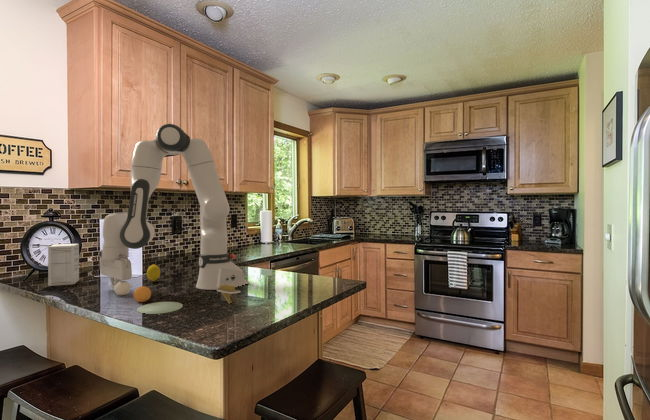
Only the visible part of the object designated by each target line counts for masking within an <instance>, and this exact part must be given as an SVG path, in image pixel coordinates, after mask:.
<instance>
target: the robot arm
mask: <svg viewBox="0 0 650 420" xmlns="http://www.w3.org/2000/svg"><path fill="white" fill-rule="evenodd" d="M134 146H135V147H134V150H133V152H132V157H131V163H130V178H129V179H130V196H129V204H128V211H127V212H124V211H122V212H115V213H109V214H107V215H106V216H105V217H104V220H103V225H102V237H103V243H102V249H101V250H99V251H98V252H97V253H98V257H99V271H100V274H101V276H102V275H103V276H106V277H109V281H110V284H111V289H114V287H115V285H116V284H117V283H118V282H120V281H127V280H131V279H132V276H133V273H132V272H133V270H132V269H133V268H132V262H131V260H130V259H129V249H133V250H137V249H141V248H143V247H145V246H146V245H147V244H148V243H150V242H151V241H152V240H153V238H154V237H155V236H156V229H155V227H154V226H153V224H151V223H150V222H148V221H147V216H148V209H149V208H148V207H149V201H150V198H151V195H152V194H153V192H154V191H155V190H156V189H157V188H158V187H159V184H160V181H161V176H162V166H163V160H164V158H168V157H175V156H178V155H180V156H182V157H183V159H184V161H185V164H186V168H187V171H188V173H189V177H190V180H191V183H192V187H193V190H194V192H195V195H196V198H197V200H198V203H199V207H200V208H199V217H200V218H199V219H200V220H199V222H200V224H199V227H200V230H199V231H200V253H199V255H198V256H199V257H198V268H199V271H198V277H197V282H196V285H195V288H196V289H199V290H209V291H210V290H216V291H217V289H218V288H220V285H223V284H225V285H231V286H235V288H239V287H243V286H242V285H244V286H246V285H245V284H248V285H250V281H249V280H248V279H245V275H244V270H243V269H242V268H241V267H239V266H238V265H236V264H235V263H234V262H232V260H235V258H236V255H235V254H234V253H228V228H227V226H228V225H227V224H228V223H227V217H228V216H229V214H230V204H229V201H228V199H227V196H226V192H225V190H224V187H223V185H222V183H221V180H220V176H219V174H218V171H217V168H216V165H215V164H216V163H215V161H214V158H213V155H212V153H211V150H210V148H209V146H208V145H207V142H206V141H205V140H204V139H201V138H197V137H196V138H191V137H190V136H189V135H188V134H187V133H186V132H185V131H184V130H183V129H182V128H181V127H180V126H178V125H177V124H173V123H165V124H163V125H160V127H158V129H157V131H156V132H155V139H153V140H147V139H146V140H140V141H138V142H137V143H136V144H135V145H134ZM231 259H232V260H231ZM223 286H224V285H223ZM238 286H239V287H238Z"/></svg>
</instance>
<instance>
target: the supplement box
mask: <svg viewBox="0 0 650 420" xmlns="http://www.w3.org/2000/svg"><path fill="white" fill-rule="evenodd" d="M47 252H48V253H47V254H48V255H47V256H48V258H47V270H48V275H47V278H48V279H47V285H48V287H52V286H54V287H55V286H69V285H75V284H76V283H77V282H79V281H80V244H79V243H58V244H52V245H48V246H47Z"/></svg>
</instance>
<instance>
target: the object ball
mask: <svg viewBox="0 0 650 420" xmlns="http://www.w3.org/2000/svg"><path fill="white" fill-rule="evenodd" d="M151 296H152V290H151V289H150V288H149V287H147V286H145V285H143V286H142V285H141V286H139V287H137V288H136V289H135V290H134V292H133V297H134V300H135V301H136V302H140V303H146V302H147V301H148V300H149V299H150V298H151Z"/></svg>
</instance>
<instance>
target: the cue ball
mask: <svg viewBox="0 0 650 420" xmlns="http://www.w3.org/2000/svg"><path fill="white" fill-rule="evenodd" d="M131 290H132V286H131V283H130V282H129V281H127V280H121V281H120V282H118V283H117V284H116V285H115V287H114V290H113V291H114V292H115V293H116V295H118V296H125V295H127V294H129V293H130V292H131Z"/></svg>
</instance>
